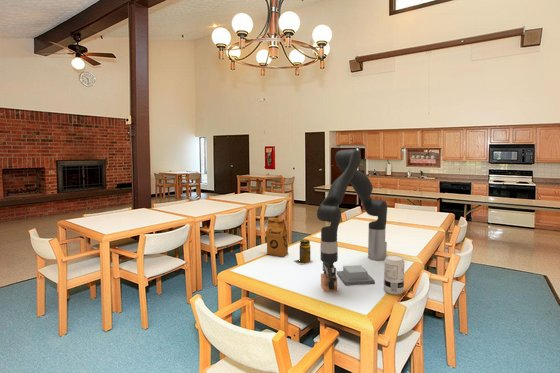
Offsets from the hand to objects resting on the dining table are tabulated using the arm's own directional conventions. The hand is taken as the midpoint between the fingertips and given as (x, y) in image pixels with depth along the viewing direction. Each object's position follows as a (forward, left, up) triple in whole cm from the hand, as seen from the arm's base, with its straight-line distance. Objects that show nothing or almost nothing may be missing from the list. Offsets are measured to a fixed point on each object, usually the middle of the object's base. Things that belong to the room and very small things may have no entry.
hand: (329, 285), depth 151 cm
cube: (0, 0, -2) cm, 2 cm away
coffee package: (+18, -52, -2) cm, 55 cm away
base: (-15, -9, -1) cm, 18 cm away
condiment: (+5, -37, -2) cm, 37 cm away
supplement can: (-27, +7, -2) cm, 28 cm away
